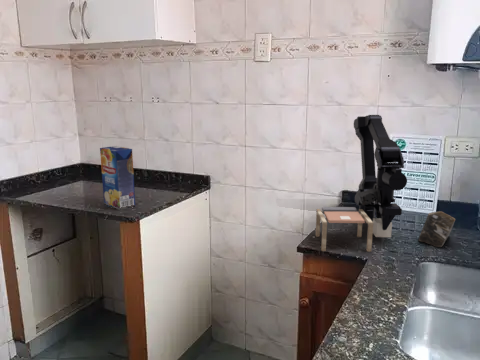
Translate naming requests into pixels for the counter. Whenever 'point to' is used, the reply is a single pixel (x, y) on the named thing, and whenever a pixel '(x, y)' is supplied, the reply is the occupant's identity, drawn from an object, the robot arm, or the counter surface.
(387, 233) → the limestone block
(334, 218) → the trapdoor
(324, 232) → the frame
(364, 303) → the counter surface
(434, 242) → the rock
